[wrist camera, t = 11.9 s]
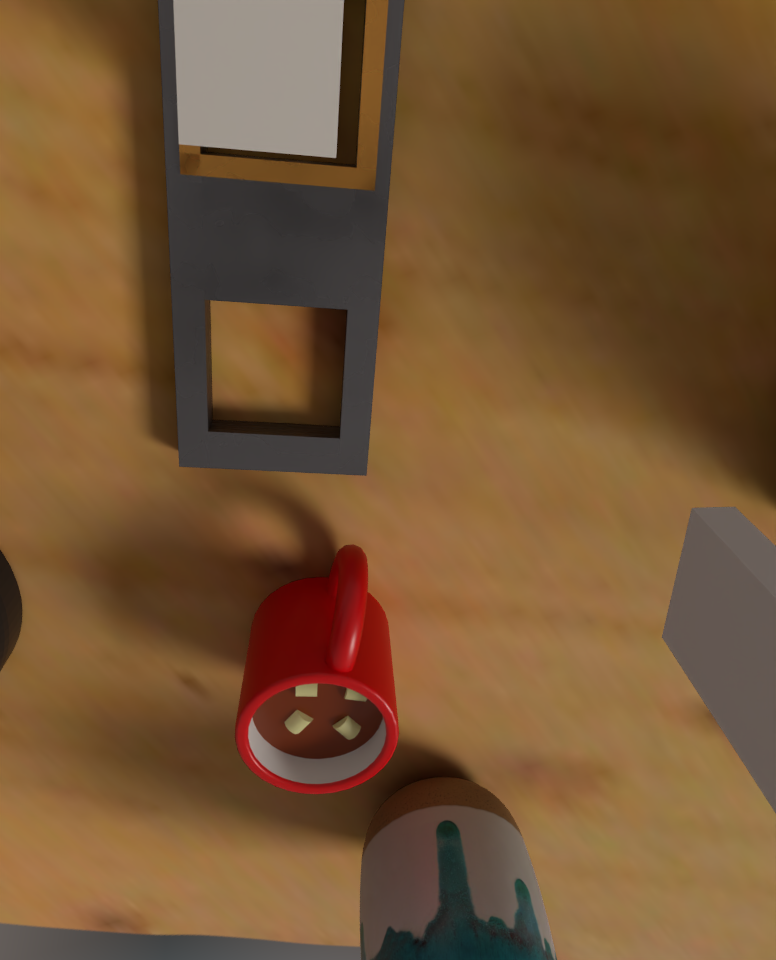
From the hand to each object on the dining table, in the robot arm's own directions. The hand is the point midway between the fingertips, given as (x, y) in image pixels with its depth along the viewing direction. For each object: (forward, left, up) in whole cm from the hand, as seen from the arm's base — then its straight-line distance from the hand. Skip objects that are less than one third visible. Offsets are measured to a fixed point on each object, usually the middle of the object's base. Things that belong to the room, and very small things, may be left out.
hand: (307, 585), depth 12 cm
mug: (+1, -18, -24) cm, 30 cm away
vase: (+9, -34, -24) cm, 42 cm away
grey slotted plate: (-2, +2, -24) cm, 24 cm away
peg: (-2, +8, -24) cm, 25 cm away
